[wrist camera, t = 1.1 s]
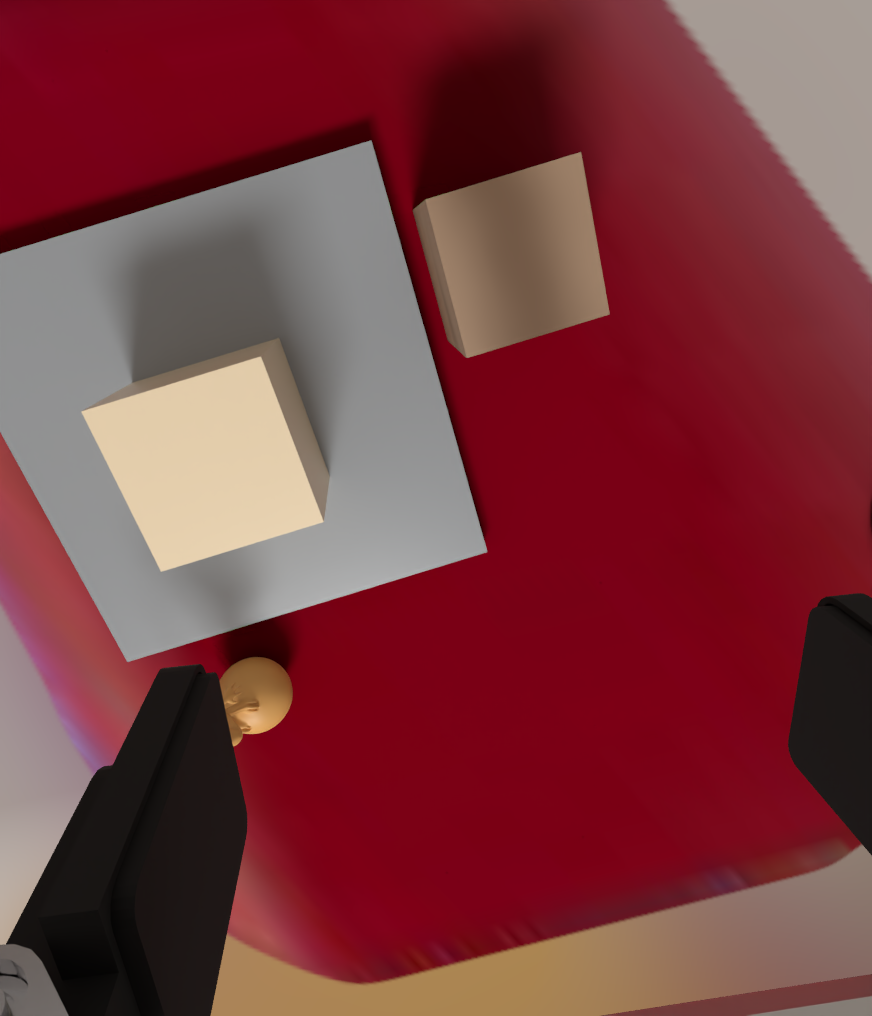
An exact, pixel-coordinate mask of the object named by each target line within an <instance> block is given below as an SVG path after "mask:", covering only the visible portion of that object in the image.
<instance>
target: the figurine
mask: <svg viewBox="0 0 872 1016" xmlns="http://www.w3.org/2000/svg"><path fill="white" fill-rule="evenodd" d="M220 687H221V691H222V696H223V701H224V706H225V710H226V715H227V720H228V725H229V729H230V734H231V739H232V744H233V746H235V745H237V744H238V743H239V742H240V741H241V739H242V736H243V733H246V734H257V733H262V732H265V731H267V730H269V729H271V728H273V727H274V726H276V725H277V724H278V723H279V722H280V721H281V720H282V719H283V718H284V717H285V715H286V714H287V712H288V710H289V708H290V705H291V702H292V694H293V691H292V684H291V681H290V678H289V676H288V674H287V672H286V671H285V670H284V669H283V668H282V667H281V666H280V665H279V664H278V663H276V662H275V661H273V660H270V659H267V658H263V657H251V658H246V659H243V660H241V661H239V662H237V663H235V664H234V665H232V666H231V667H230V668H229V669H228V670H227V671H226V672H225V673H224V675H223V676H222V678H221V679H220Z"/></svg>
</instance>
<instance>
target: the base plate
mask: <svg viewBox="0 0 872 1016" xmlns="http://www.w3.org/2000/svg"><path fill="white" fill-rule="evenodd" d="M0 432H1V434H2V436H3V438H4V440H5V441H6V443H7V445H8V447H9V449H10V450H11V452H12V454H13V456H14V458H15V459H16V461H17V463H18V465H19V467H20V468H21V470H22V472H23V474H24V476H25V477H26V479H27V481H28V483H29V485H30V487H31V488H32V490H33V492H34V494H35V496H36V497H37V499H38V501H39V503H40V505H41V506H42V508H43V510H44V512H45V514H46V515H47V517H48V519H49V521H50V523H51V525H52V526H53V528H54V530H55V532H56V534H57V535H58V537H59V539H60V541H61V543H62V544H63V546H64V548H65V550H66V552H67V553H68V555H69V557H70V559H71V561H72V563H73V564H74V566H75V568H76V570H77V572H78V573H79V575H80V577H81V579H82V581H83V582H84V584H85V586H86V588H87V590H88V591H89V593H90V595H91V597H92V599H93V600H94V602H95V604H96V606H97V608H98V610H99V611H100V613H101V615H102V617H103V619H104V620H105V622H106V624H107V626H108V628H109V629H110V631H111V633H112V635H113V637H114V638H115V640H116V642H117V644H118V646H119V648H120V649H121V651H122V653H123V655H124V657H125V658H126V660H127V662H129V661H132V660H136V659H139V658H142V657H145V656H149V655H152V654H155V653H158V652H162V651H165V650H168V649H172V648H175V647H178V646H181V645H185V644H188V643H191V642H194V641H198V640H201V639H204V638H207V637H211V636H214V635H217V634H221V633H224V632H227V631H230V630H234V629H237V628H240V627H243V626H247V625H250V624H253V623H257V622H260V621H263V620H266V619H270V618H273V617H276V616H279V615H283V614H286V613H289V612H292V611H296V610H299V609H302V608H306V607H309V606H312V605H315V604H319V603H322V602H325V601H328V600H332V599H335V598H338V597H342V596H345V595H348V594H351V593H355V592H358V591H361V590H364V589H368V588H371V587H374V586H377V585H381V584H384V583H387V582H391V581H394V580H397V579H400V578H404V577H407V576H410V575H413V574H417V573H420V572H423V571H427V570H430V569H433V568H436V567H440V566H443V565H446V564H449V563H453V562H456V561H459V560H462V559H466V558H469V557H472V556H476V555H479V554H482V553H485V552H487V549H486V545H485V542H484V538H483V534H482V531H481V527H480V524H479V520H478V517H477V513H476V510H475V506H474V502H473V499H472V495H471V492H470V488H469V485H468V481H467V478H466V474H465V471H464V467H463V463H462V460H461V456H460V453H459V449H458V446H457V442H456V439H455V435H454V432H453V428H452V424H451V421H450V417H449V414H448V410H447V407H446V403H445V400H444V396H443V393H442V389H441V385H440V382H439V378H438V375H437V371H436V368H435V364H434V361H433V357H432V353H431V350H430V346H429V343H428V339H427V336H426V332H425V329H424V325H423V322H422V318H421V314H420V311H419V307H418V304H417V300H416V297H415V293H414V290H413V286H412V283H411V279H410V275H409V272H408V268H407V265H406V261H405V258H404V254H403V251H402V247H401V244H400V240H399V236H398V233H397V229H396V226H395V222H394V219H393V215H392V212H391V208H390V204H389V201H388V197H387V194H386V190H385V187H384V183H383V180H382V176H381V173H380V169H379V165H378V162H377V158H376V155H375V151H374V148H373V144H372V141H367V142H364V143H361V144H358V145H354V146H351V147H348V148H344V149H341V150H338V151H335V152H331V153H328V154H325V155H322V156H318V157H315V158H312V159H309V160H305V161H302V162H299V163H296V164H292V165H289V166H286V167H282V168H279V169H276V170H273V171H269V172H266V173H263V174H260V175H256V176H253V177H250V178H247V179H243V180H240V181H237V182H234V183H230V184H227V185H224V186H220V187H217V188H214V189H211V190H207V191H204V192H201V193H198V194H194V195H191V196H188V197H185V198H181V199H178V200H175V201H172V202H168V203H165V204H162V205H158V206H155V207H152V208H149V209H145V210H142V211H139V212H136V213H132V214H129V215H126V216H123V217H119V218H116V219H113V220H110V221H106V222H103V223H100V224H96V225H93V226H90V227H87V228H83V229H80V230H77V231H74V232H70V233H67V234H64V235H61V236H57V237H54V238H51V239H48V240H44V241H41V242H38V243H35V244H31V245H28V246H25V247H21V248H18V249H15V250H12V251H8V252H5V253H2V254H0Z"/></svg>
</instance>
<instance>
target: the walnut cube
mask: <svg viewBox="0 0 872 1016" xmlns="http://www.w3.org/2000/svg"><path fill="white" fill-rule="evenodd" d="M413 213H414V217H415V221H416V224H417V228H418V232H419V235H420V239H421V243H422V247H423V250H424V254H425V258H426V261H427V265H428V269H429V272H430V276H431V280H432V284H433V287H434V291H435V295H436V298H437V302H438V306H439V309H440V313H441V317H442V320H443V324H444V328H445V332H446V335H447V339H448V341H449V342H450V343H451V344H452V345H453V346H454V347H455V348H456V349H458V350H459V351H460V352H461V353H462V354H463V355H464V356H465V357H466V358H469V357H472V356H475V355H478V354H482V353H485V352H488V351H492V350H495V349H498V348H501V347H505V346H508V345H511V344H514V343H518V342H521V341H524V340H527V339H531V338H534V337H537V336H540V335H544V334H547V333H550V332H553V331H557V330H560V329H563V328H566V327H570V326H573V325H576V324H580V323H583V322H586V321H589V320H593V319H596V318H599V317H602V316H606V315H609V314H610V313H609V308H608V302H607V296H606V291H605V285H604V279H603V274H602V268H601V262H600V257H599V251H598V245H597V240H596V234H595V228H594V223H593V217H592V211H591V206H590V200H589V194H588V189H587V183H586V177H585V172H584V166H583V160H582V155H581V152H579V153H576V154H573V155H569V156H566V157H563V158H560V159H556V160H553V161H550V162H547V163H543V164H540V165H537V166H533V167H530V168H527V169H524V170H520V171H517V172H514V173H511V174H507V175H504V176H501V177H498V178H494V179H491V180H488V181H484V182H481V183H478V184H475V185H471V186H468V187H465V188H462V189H458V190H455V191H452V192H449V193H445V194H442V195H439V196H435V197H432V198H429V199H426V200H424V201H423V202H422V203H421V204H419V205H418V206H417V207H416V208H415V209H413Z"/></svg>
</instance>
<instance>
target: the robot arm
mask: <svg viewBox="0 0 872 1016" xmlns="http://www.w3.org/2000/svg"><path fill="white" fill-rule="evenodd" d="M788 747H789V752H790V755H791V758H792V760H793V762H794V764H795V765H796V767H797V768H798V769H799V770H800V772H801V773H802V774H803V775H804V776H805V777H806V779H807V780H808V781H809V782H810V783H811V784H812V786H813V787H814V788H815V789H816V790H817V792H818V793H819V794H820V795H821V796H822V797H823V799H824V800H825V801H826V802H827V803H828V804H829V806H830V807H831V808H832V809H833V810H834V812H835V813H836V814H837V815H838V816H839V817H840V819H841V820H842V821H843V822H844V823H845V824H846V826H847V827H848V828H849V829H850V830H851V832H852V833H853V834H854V835H855V836H856V837H857V839H858V840H859V841H860V842H861V843H862V844H863V846H864V847H865V848H866V849H867V850H868V851H869V853H870V854H871V855H872V598H871V597H869V596H867V595H865V594H858V593H857V594H848V595H839V596H829V597H825V598H823V599H821V601H820V602H819V603H818V606H817V607H815V608H813V609H812V610H811V612H810V614H809V618H808V624H807V631H806V637H805V643H804V649H803V655H802V661H801V667H800V673H799V679H798V685H797V691H796V698H795V704H794V710H793V716H792V722H791V728H790V734H789V740H788ZM246 834H247V811H246V805H245V801H244V796H243V791H242V786H241V782H240V777H239V772H238V767H237V763H236V758H235V753H234V748H233V744H232V739H231V734H230V729H229V725H228V720H227V715H226V710H225V706H224V701H223V696H222V691H221V687H220V682H219V678H218V676H217V674H216V673H215V672H214V673H206V672H205V669H204V667H203V666H202V665H201V664H197V665H188V666H178V667H169V668H163V669H160V671H159V672H158V674H157V676H156V678H155V680H154V682H153V684H152V686H151V688H150V690H149V692H148V694H147V696H146V698H145V700H144V702H143V704H142V706H141V708H140V711H139V713H138V715H137V717H136V719H135V721H134V723H133V725H132V727H131V729H130V731H129V733H128V735H127V737H126V739H125V741H124V743H123V745H122V747H121V749H120V751H119V753H118V755H117V757H116V759H115V762H114V764H113V765H111V766H104V767H102V768H100V769H99V770H97V772H96V773H95V775H94V776H93V778H92V779H91V781H90V783H89V785H88V787H87V789H86V791H85V793H84V795H83V796H82V798H81V800H80V802H79V804H78V806H77V808H76V810H75V812H74V814H73V816H72V818H71V820H70V822H69V824H68V825H67V827H66V830H65V831H64V833H63V835H62V837H61V839H60V841H59V843H58V845H57V847H56V849H55V851H54V853H53V854H52V856H51V859H50V860H49V862H48V864H47V866H46V868H45V870H44V872H43V874H42V876H41V878H40V880H39V882H38V884H37V885H36V887H35V889H34V891H33V893H32V895H31V897H30V899H29V901H28V903H27V905H26V907H25V909H24V910H23V913H22V914H21V916H20V918H19V920H18V922H17V924H16V926H15V928H14V930H13V932H12V934H11V936H10V938H9V939H8V941H7V943H6V945H0V1016H210V1015H211V1010H212V1005H213V1000H214V995H215V990H216V985H217V980H218V975H219V970H220V965H221V960H222V955H223V950H224V944H225V940H226V935H227V930H228V925H229V920H230V915H231V910H232V905H233V900H234V895H235V890H236V885H237V880H238V875H239V870H240V865H241V860H242V855H243V850H244V845H245V840H246ZM603 1016H872V974H871V975H864V976H857V977H851V978H844V979H838V980H831V981H824V982H817V983H812V984H804V985H798V986H792V987H785V988H778V989H772V990H765V991H758V992H752V993H745V994H739V995H732V996H726V997H719V998H713V999H706V1000H700V1001H693V1002H687V1003H680V1004H674V1005H668V1006H661V1007H655V1008H649V1009H642V1010H635V1011H629V1012H622V1013H616V1014H610V1015H603Z"/></svg>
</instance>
